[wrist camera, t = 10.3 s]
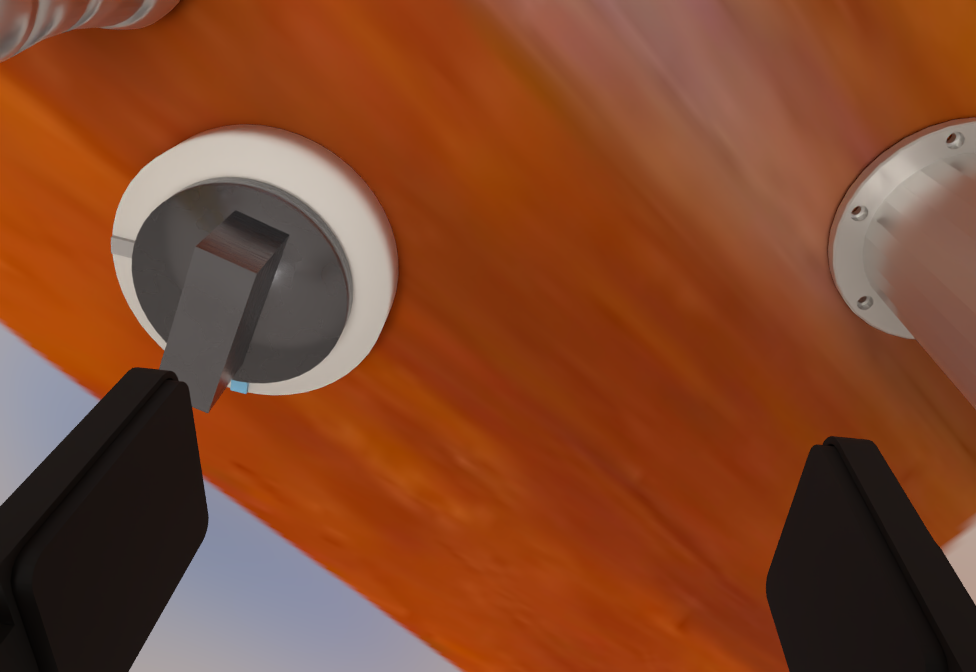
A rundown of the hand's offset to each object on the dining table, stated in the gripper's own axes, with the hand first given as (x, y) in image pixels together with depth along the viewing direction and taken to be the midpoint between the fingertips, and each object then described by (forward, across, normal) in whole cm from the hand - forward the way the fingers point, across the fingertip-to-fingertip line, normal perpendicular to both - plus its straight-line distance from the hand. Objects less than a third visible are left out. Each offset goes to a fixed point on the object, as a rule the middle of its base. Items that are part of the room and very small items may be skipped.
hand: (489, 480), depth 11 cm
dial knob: (+29, +15, +12) cm, 35 cm away
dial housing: (+32, +15, +12) cm, 38 cm away
